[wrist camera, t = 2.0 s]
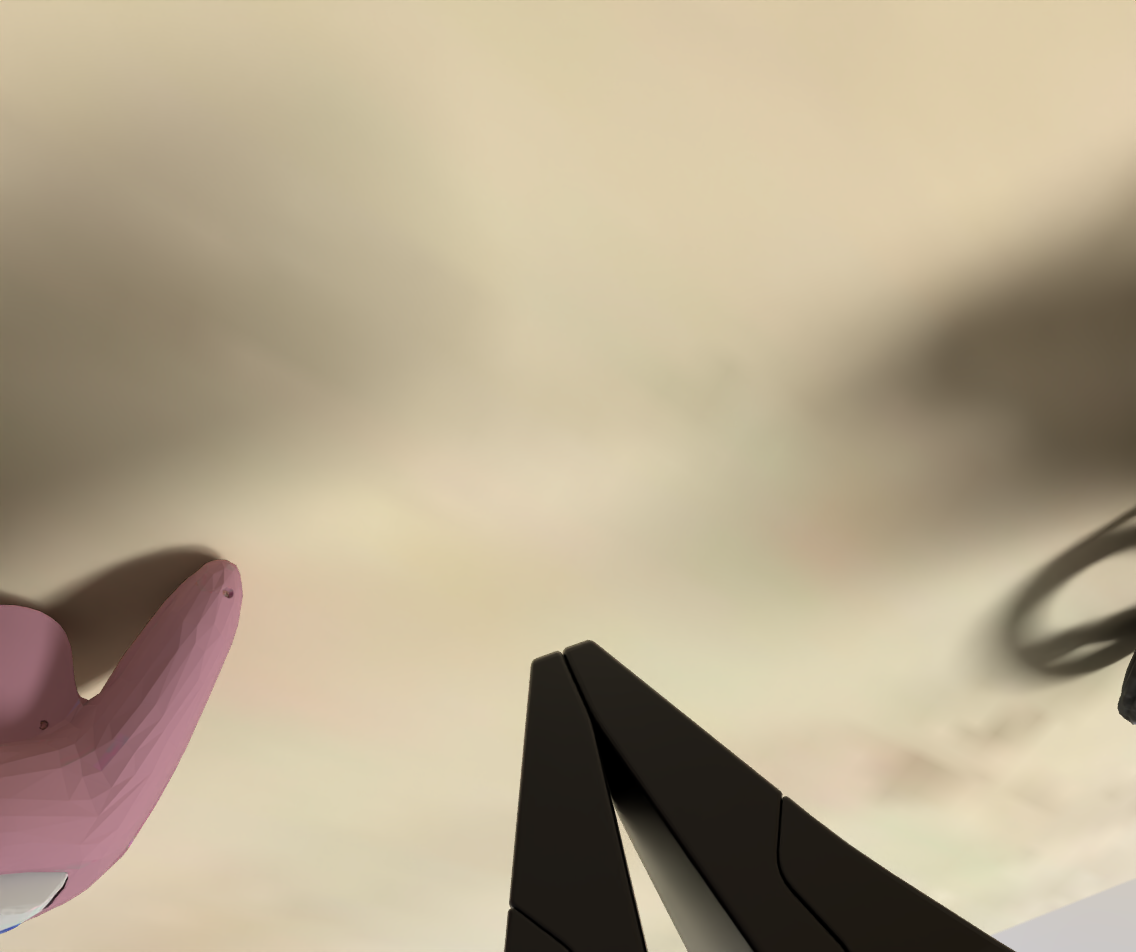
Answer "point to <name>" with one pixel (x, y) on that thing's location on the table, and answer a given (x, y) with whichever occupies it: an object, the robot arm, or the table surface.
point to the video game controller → (98, 738)
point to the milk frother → (1129, 693)
